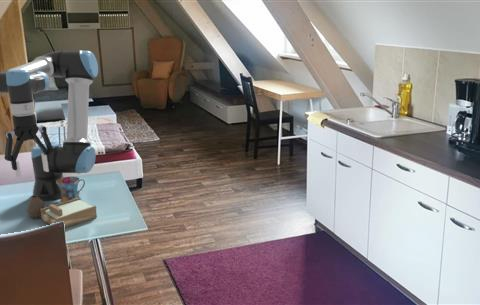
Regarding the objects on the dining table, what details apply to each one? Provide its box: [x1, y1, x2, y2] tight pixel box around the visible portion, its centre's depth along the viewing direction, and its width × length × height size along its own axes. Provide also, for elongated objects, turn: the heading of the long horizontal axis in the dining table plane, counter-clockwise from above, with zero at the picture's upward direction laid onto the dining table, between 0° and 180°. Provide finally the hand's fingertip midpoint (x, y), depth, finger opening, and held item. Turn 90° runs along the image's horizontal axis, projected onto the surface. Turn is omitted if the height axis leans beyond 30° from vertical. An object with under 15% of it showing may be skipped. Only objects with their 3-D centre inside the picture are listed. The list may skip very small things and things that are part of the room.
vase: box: [26, 195, 47, 220], centre depth 190 cm, size 7×7×9 cm
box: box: [40, 198, 98, 229], centre depth 188 cm, size 14×16×5 cm
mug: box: [56, 176, 86, 203], centre depth 204 cm, size 12×9×11 cm
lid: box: [45, 199, 93, 219], centre depth 188 cm, size 12×15×4 cm
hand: (32, 174), depth 175 cm, fingers open, 9 cm apart
